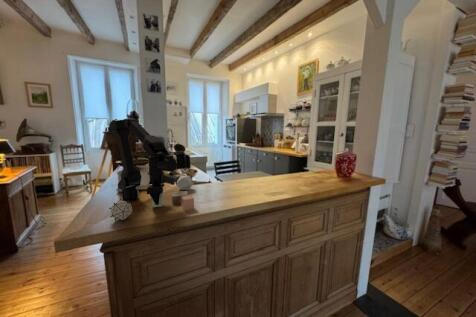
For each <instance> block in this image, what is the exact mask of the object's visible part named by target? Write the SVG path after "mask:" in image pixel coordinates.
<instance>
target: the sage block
mask: <svg viewBox="0 0 476 317" xmlns="http://www.w3.org/2000/svg"><path fill="white" fill-rule="evenodd" d="M150 197H151V196H150ZM150 201H151V207H152V208H157V207H158V208H159V207H164V192H163V193H161V194H160V198H159V204H158V205H156V204H155V203H154V201H153V199H152V197H151V199H150Z"/></svg>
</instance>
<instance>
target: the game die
mask: <svg viewBox="0 0 476 317" xmlns="http://www.w3.org/2000/svg"><path fill="white" fill-rule="evenodd" d="M133 206H134V203H130V201H123V199H122V197H120V198H119V201H118V202H116V203H115V202H113V206H112V207H108V209H109V210H110V212H111V215H110V216H109V218H112V217H113V218H114V220H120V221H122V223H125V220H126V219H127V218H128V217H131V216H130V215H132V213H136V211H135V210H133Z"/></svg>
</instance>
